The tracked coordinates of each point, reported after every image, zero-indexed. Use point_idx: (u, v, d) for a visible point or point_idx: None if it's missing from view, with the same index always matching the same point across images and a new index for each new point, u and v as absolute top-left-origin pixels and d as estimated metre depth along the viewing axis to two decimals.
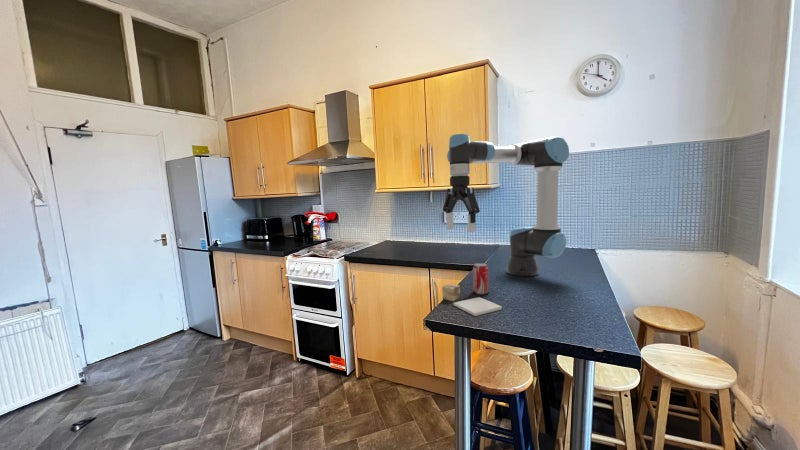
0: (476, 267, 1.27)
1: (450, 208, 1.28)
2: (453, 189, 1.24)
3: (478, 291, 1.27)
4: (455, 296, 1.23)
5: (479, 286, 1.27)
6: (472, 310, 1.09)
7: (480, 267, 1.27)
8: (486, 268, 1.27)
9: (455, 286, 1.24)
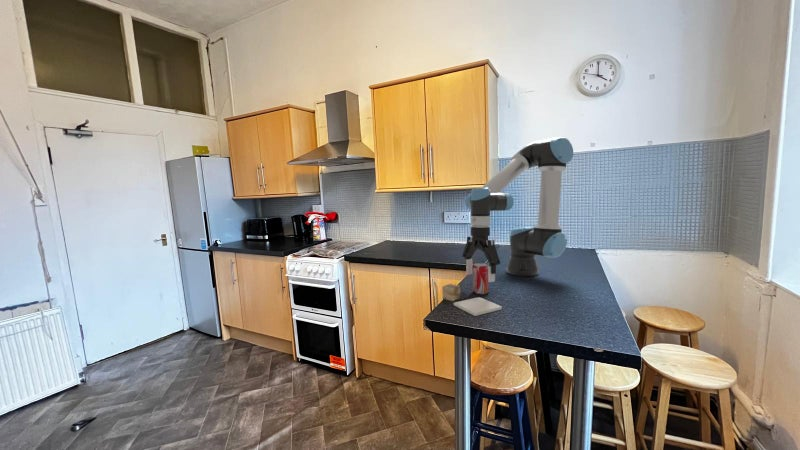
0: (476, 267, 1.27)
1: (470, 255, 1.34)
2: (473, 238, 1.30)
3: (478, 291, 1.27)
4: (455, 296, 1.23)
5: (479, 286, 1.27)
6: (472, 310, 1.09)
7: (480, 267, 1.27)
8: (486, 268, 1.27)
9: (455, 286, 1.24)
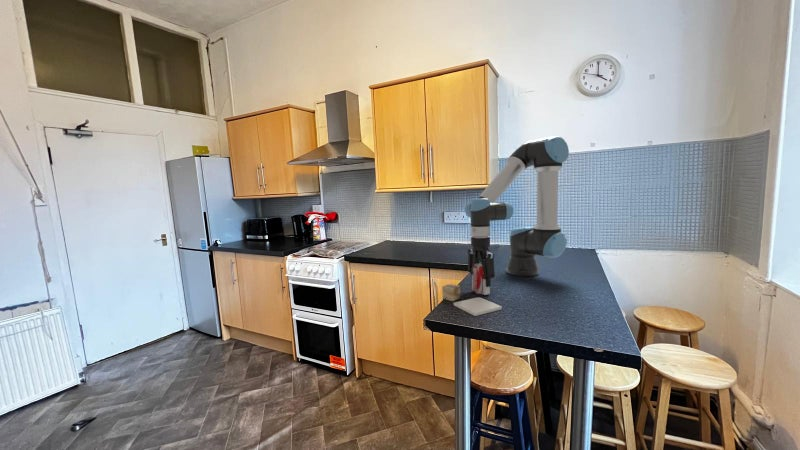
0: (476, 267, 1.27)
1: None
2: (473, 248, 1.31)
3: (478, 291, 1.27)
4: (455, 296, 1.23)
5: (479, 286, 1.27)
6: (472, 310, 1.09)
7: (480, 267, 1.27)
8: None
9: (455, 286, 1.24)
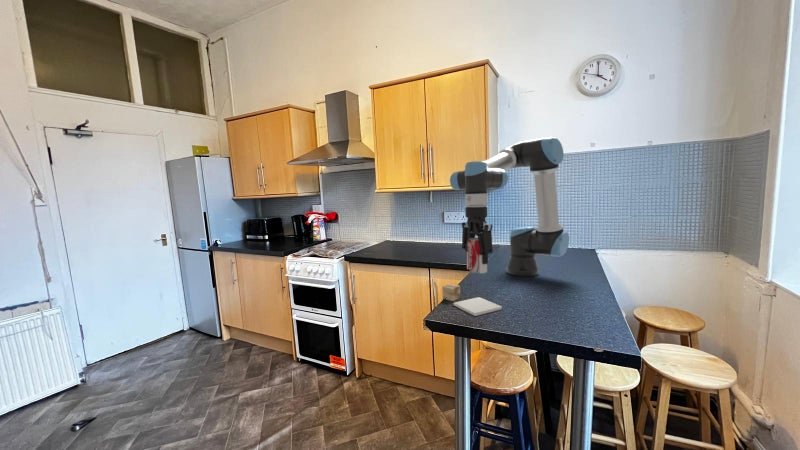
0: (471, 241, 1.10)
1: None
2: (468, 220, 1.13)
3: (473, 269, 1.10)
4: (455, 296, 1.23)
5: (475, 263, 1.10)
6: (472, 310, 1.09)
7: (476, 241, 1.09)
8: None
9: (455, 286, 1.24)
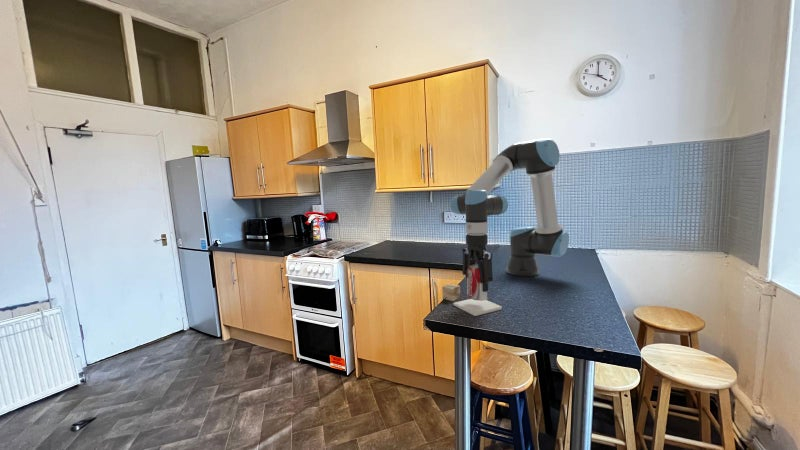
0: (471, 269, 1.11)
1: None
2: (469, 247, 1.14)
3: (474, 296, 1.11)
4: (455, 296, 1.23)
5: (475, 290, 1.11)
6: (472, 310, 1.09)
7: (476, 269, 1.10)
8: None
9: (455, 286, 1.24)
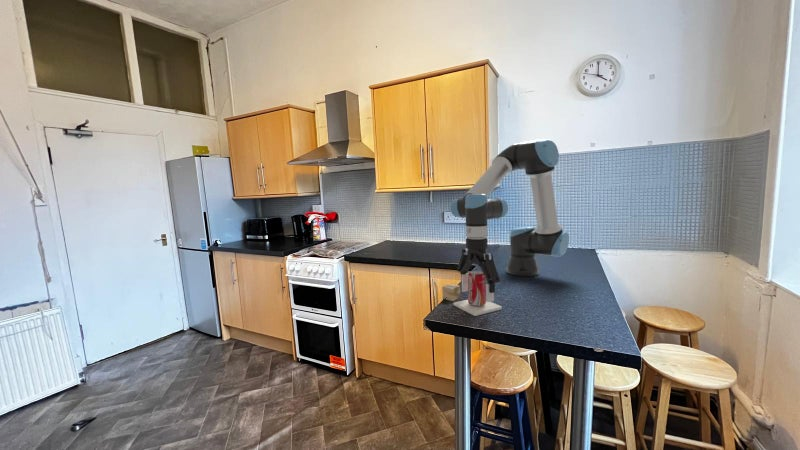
0: (472, 275, 1.11)
1: (465, 269, 1.18)
2: (469, 251, 1.14)
3: (474, 303, 1.11)
4: (455, 296, 1.23)
5: (475, 297, 1.11)
6: (472, 310, 1.09)
7: (476, 275, 1.11)
8: (483, 276, 1.11)
9: (455, 286, 1.24)
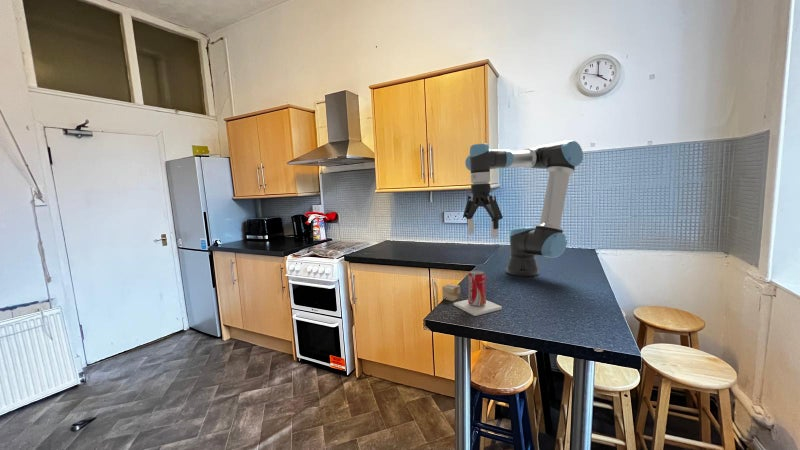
0: (472, 275, 1.11)
1: (471, 214, 1.33)
2: (474, 196, 1.29)
3: (474, 303, 1.11)
4: (455, 296, 1.23)
5: (475, 297, 1.11)
6: (472, 310, 1.09)
7: (476, 275, 1.11)
8: (483, 276, 1.11)
9: (455, 286, 1.24)
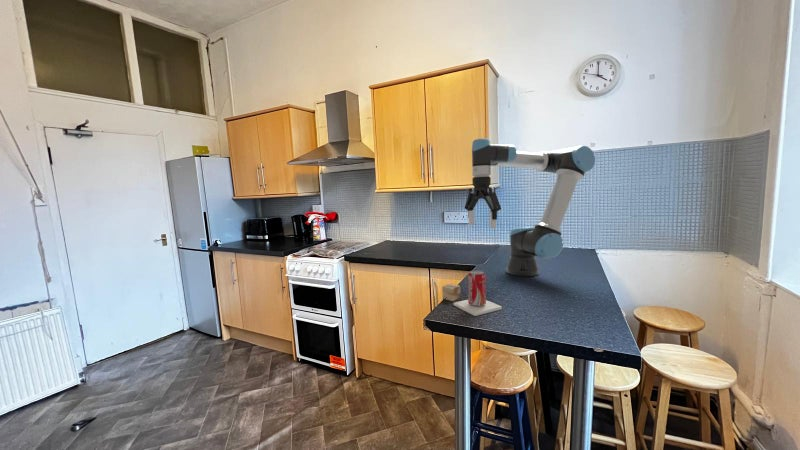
0: (472, 275, 1.11)
1: (472, 206, 1.40)
2: (475, 189, 1.36)
3: (474, 303, 1.11)
4: (455, 296, 1.23)
5: (475, 297, 1.11)
6: (472, 310, 1.09)
7: (476, 275, 1.11)
8: (483, 276, 1.11)
9: (455, 286, 1.24)
